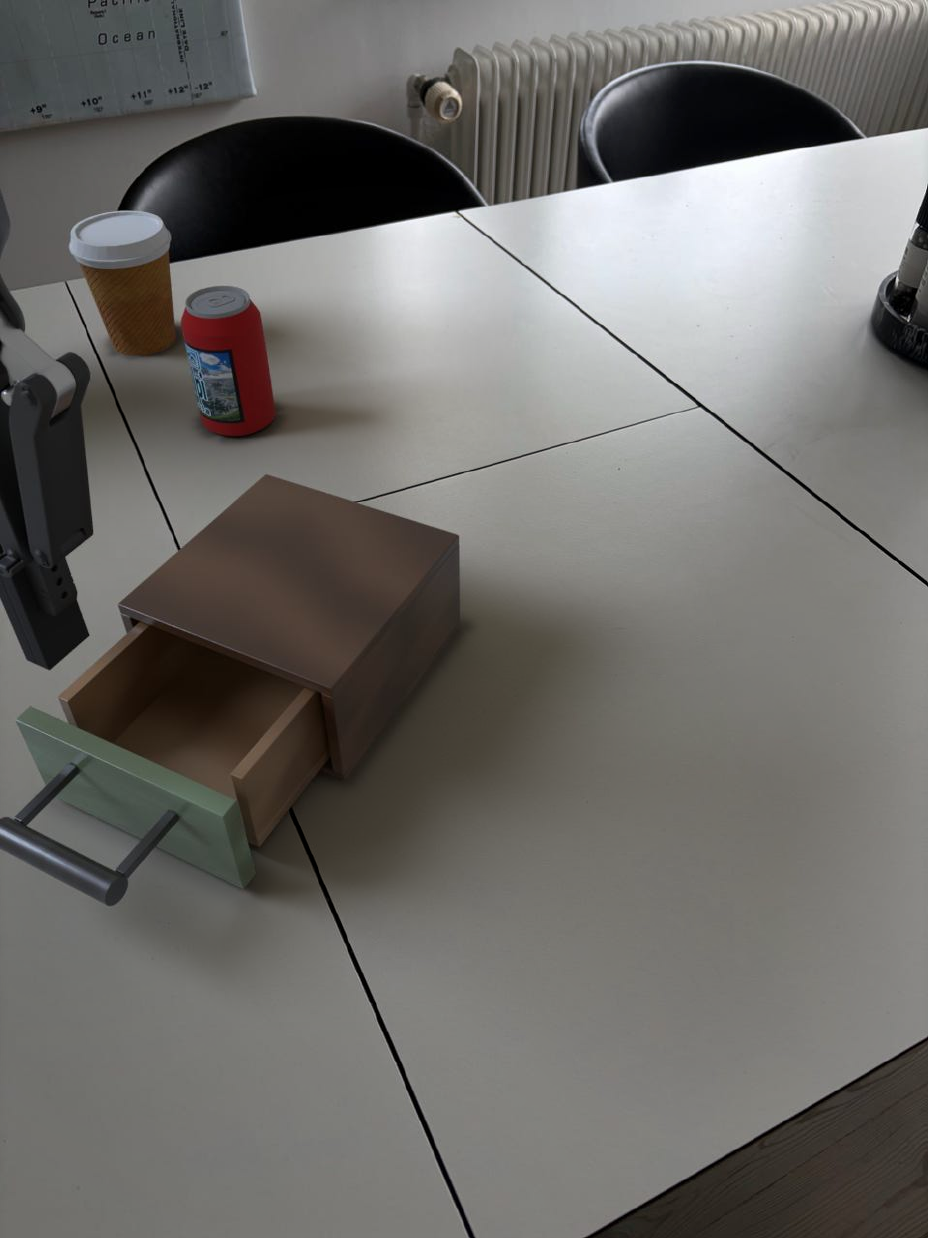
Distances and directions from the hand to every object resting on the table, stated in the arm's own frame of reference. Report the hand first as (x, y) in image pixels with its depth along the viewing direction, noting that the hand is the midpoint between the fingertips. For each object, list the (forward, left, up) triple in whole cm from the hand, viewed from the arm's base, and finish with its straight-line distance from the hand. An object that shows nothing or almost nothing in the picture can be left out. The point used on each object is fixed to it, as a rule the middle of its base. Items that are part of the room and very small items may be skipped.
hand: (58, 647), depth 49 cm
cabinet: (+1, +17, -16) cm, 23 cm away
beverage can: (-22, +40, -16) cm, 48 cm away
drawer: (+1, +4, -15) cm, 15 cm away
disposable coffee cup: (-40, +48, -16) cm, 64 cm away
